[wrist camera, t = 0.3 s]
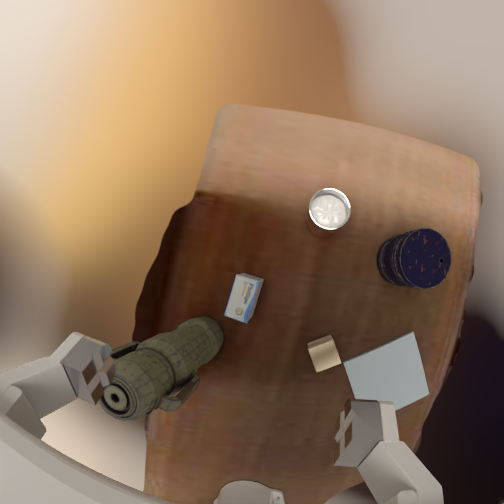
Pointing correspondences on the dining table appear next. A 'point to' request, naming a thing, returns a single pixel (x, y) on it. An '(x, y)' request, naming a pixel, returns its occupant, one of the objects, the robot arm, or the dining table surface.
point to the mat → (389, 372)
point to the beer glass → (327, 212)
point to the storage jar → (415, 259)
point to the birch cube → (323, 353)
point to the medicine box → (243, 297)
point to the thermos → (160, 369)
